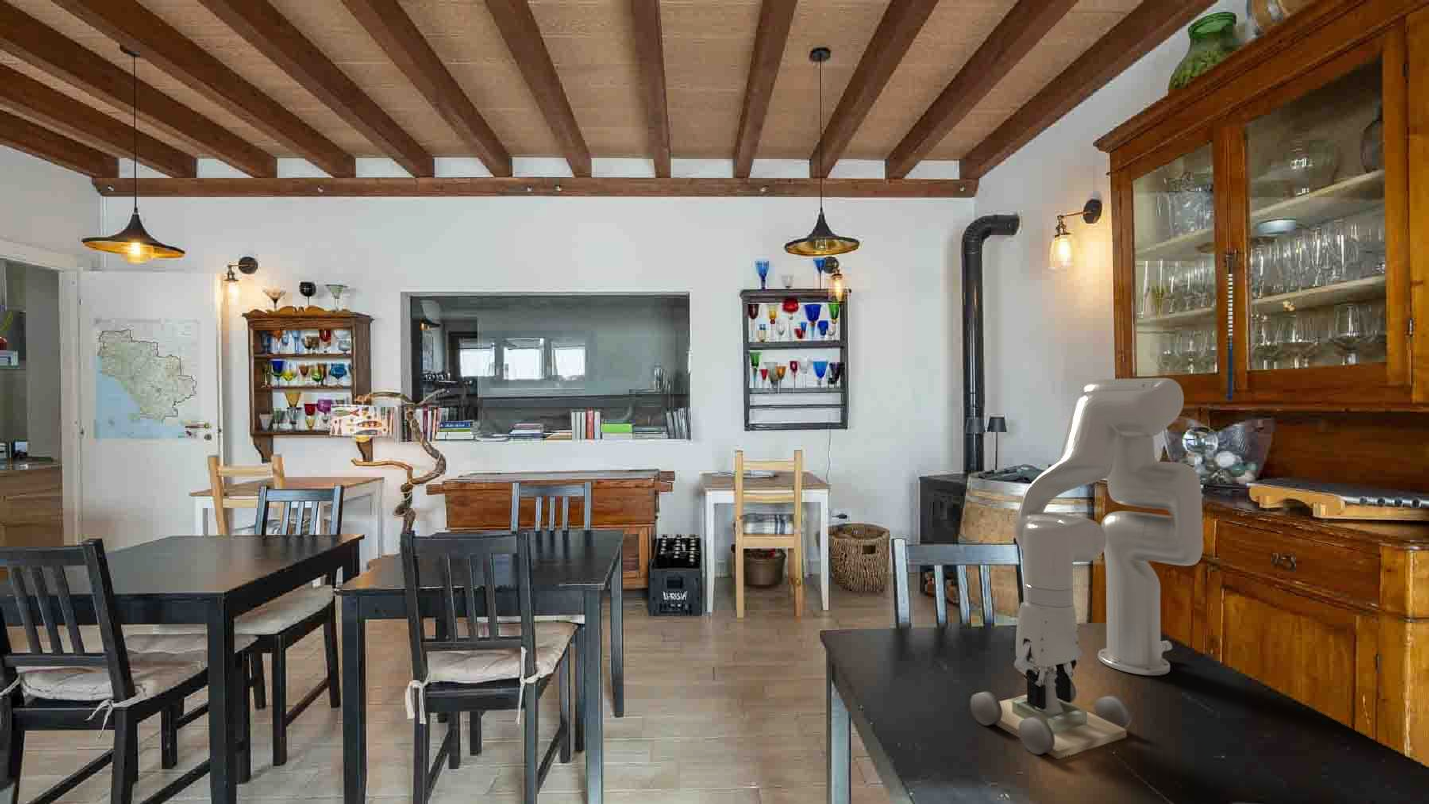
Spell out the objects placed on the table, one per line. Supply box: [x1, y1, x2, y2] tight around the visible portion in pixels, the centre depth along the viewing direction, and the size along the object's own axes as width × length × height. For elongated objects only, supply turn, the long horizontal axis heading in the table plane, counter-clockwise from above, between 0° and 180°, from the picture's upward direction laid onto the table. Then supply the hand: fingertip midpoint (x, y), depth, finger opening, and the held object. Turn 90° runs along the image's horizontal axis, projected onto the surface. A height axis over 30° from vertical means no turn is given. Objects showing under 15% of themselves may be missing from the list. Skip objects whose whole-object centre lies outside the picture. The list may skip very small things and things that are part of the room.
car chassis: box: [969, 680, 1132, 760], centre depth 111 cm, size 20×16×5 cm
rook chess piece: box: [1035, 666, 1063, 717], centre depth 111 cm, size 4×4×8 cm
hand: (1049, 701), depth 111 cm, fingers open, 5 cm apart
